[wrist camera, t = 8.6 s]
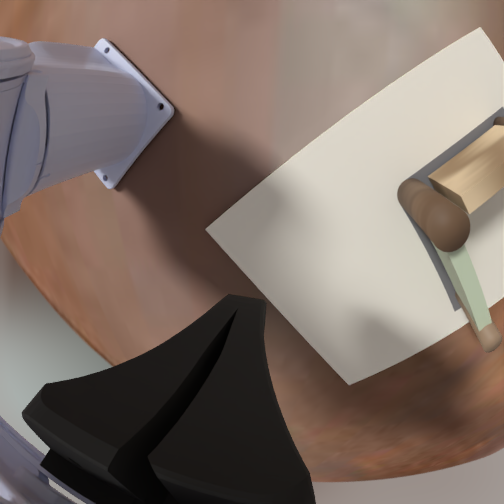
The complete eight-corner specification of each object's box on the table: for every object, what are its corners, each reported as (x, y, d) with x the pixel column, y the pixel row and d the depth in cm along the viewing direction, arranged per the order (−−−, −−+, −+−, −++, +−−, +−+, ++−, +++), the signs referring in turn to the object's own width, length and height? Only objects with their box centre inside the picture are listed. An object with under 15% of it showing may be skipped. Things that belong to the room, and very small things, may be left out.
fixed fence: (407, 216, 16) (442, 260, 10) (391, 189, 15) (423, 224, 10) (512, 136, 11) (569, 150, 6) (499, 109, 11) (557, 113, 6)
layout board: (207, 227, 19) (205, 229, 19) (477, 28, 9) (480, 26, 9) (348, 382, 23) (348, 385, 22) (562, 239, 12) (565, 241, 12)
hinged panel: (416, 221, 15) (450, 263, 10) (433, 208, 15) (474, 245, 10) (458, 303, 17) (485, 356, 12) (472, 293, 16) (503, 343, 11)
